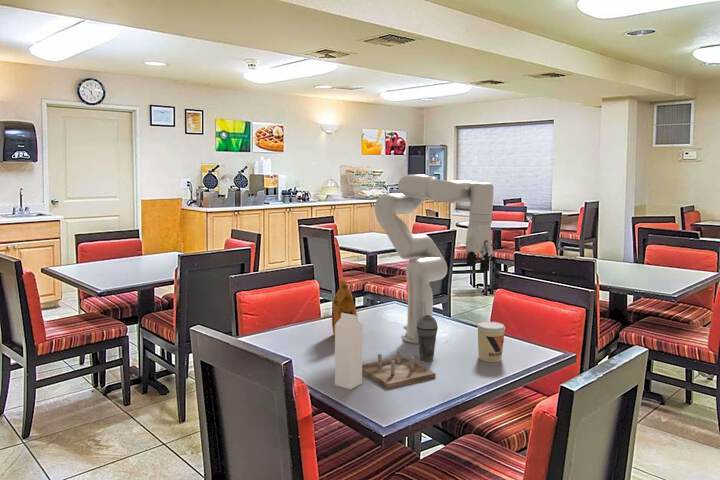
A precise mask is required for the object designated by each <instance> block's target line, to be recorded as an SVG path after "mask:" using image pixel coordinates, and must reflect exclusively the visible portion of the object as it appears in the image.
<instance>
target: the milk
mask: <svg viewBox="0 0 720 480" xmlns="http://www.w3.org/2000/svg"><path fill="white" fill-rule="evenodd" d="M357 320H358V315H357V316H356V315H351V314H346V313H341V318H340V319H339V320H338V322H337V323H336V324H335V336H334V385H335V386H337V387H341V388H343V389H347V390H352V389H355V388H357V387H358V386H360V385H362V384H363V373H362V365H363V323H362V322H360V321H359V320H358V321H357Z"/></svg>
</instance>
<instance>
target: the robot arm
mask: <svg viewBox="0 0 720 480" xmlns="http://www.w3.org/2000/svg"><path fill="white" fill-rule="evenodd" d="M397 188H398V191H399V192H389V193H384V194H382V195H380V196H378V198H377V199H376V201H375V205H374V215H375V218H376V220H377V222H378V224H379V225H380V227H381V228H382V230H383V231H384V232H385V234H386V236H387V237H388V239H389V241H390V242H391V244H392V246H393V248H394V250H395V251H396V253H397V254H398V256H399V257H400V258H401V259H402V260H406V261H408V260H410V261H409V262H408V263H407V265H406V267H405V277H406V282H407V322H406V323H407V324H406V325H403V329H404V330H406V332H405V333H404V334H403V336H402V338H403V339H402V340H404V341H405V342H407V343H410V344H415V345H416V344H418V345H419V340H418V331H417V323H418V321H419V319H420V318H421V317H422V316H425V313H424V303H425V308H426V315H429V316H432V317H433V315H434V314H433V307H434V295H433V290H432V287H431V285H430V282H436V281H439V280H443V279H444V278H445V277H446V275H447V274H448V264H447V261H446V260H445V258H444V256H443V255H442V253H441V251H440V249H439V248H438V247H437V245H436V244H435V242H434V240H433V239H432V238H431V237H430V236H428V235H427V234H424V233H417V234H414V233H413V232H412V231H411V230H410V229H409V227H408V225H407V224H406V223H405V221H403V220H402V219H401V218H400V217H398V216H397V215H406V214H411V213H414V211H417V209H418V208H419V207H420V206H421V204H423V203H424V202H425V201H426V200H429V201H433V202H438V203H439V202H440V203H448V204H459V203H469V213H468V215H469V217H468V219H469V220H468V226H467V230H466V241H465V248H466V254H467V255H466V266H467V267H474V266H476V263H477V254H480V258H481V259H480V264H479V265H480V266H479V271H480V272H489V271H490V262H491V261H490V260H491V259H492V258H491V257H492V253H493V251H494V248H493V246H492V228H491V227H492V222H493V221H492V219H493V206H494V205H493V203H494V202H493V201H494V185H493V184H492V183H491V182H480V181H478V182H477V181H473V180H443V179H442V180H440V179H439V178H437V177H436V176H428V175H426V174H406V175H403V176H402V177H401V178H400V179H399V181H398V183H397Z"/></svg>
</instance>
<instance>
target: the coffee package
mask: <svg viewBox="0 0 720 480" xmlns="http://www.w3.org/2000/svg"><path fill="white" fill-rule="evenodd" d="M339 284H340V287H339V289H338V290H337V292H336V293H335V295H334V297H333V302H332V312H331V326H332V333H333V335H334V337H335V324H336V323H337V322H338V320H339V319H340V318H341V313H346V314H351V315H356V316H357V317H358V312H357V310H356V305H355V301H354V298H353V294H352V292H351V290H350V287H348V286H349V282H348V281H346V280H344V279H341V280H339ZM357 321H358V322H359V320H358V319H357Z"/></svg>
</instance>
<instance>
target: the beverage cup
mask: <svg viewBox="0 0 720 480" xmlns="http://www.w3.org/2000/svg"><path fill="white" fill-rule="evenodd" d="M424 313H425V316H422V317H421V318H420V319H419V321H418V323H417V331H418V340H419V344H418V351H419V353H418V354H419V360H420V361H421V362H423V361H424V363H431V362H433V361H434V356H435V349H436V348H435V347H436V340H437V333H438V329H439V326H438V322H437V320H436V319H435V317H434V316H433V315H432V316H429V315H426V308H425V303H424Z"/></svg>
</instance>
